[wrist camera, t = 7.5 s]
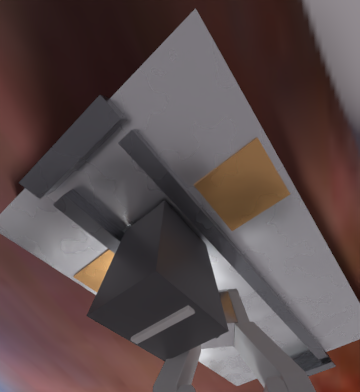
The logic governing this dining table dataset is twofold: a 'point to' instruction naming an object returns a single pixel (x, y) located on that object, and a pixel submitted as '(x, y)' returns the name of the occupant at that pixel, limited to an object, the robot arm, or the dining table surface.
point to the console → (190, 200)
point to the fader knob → (161, 287)
